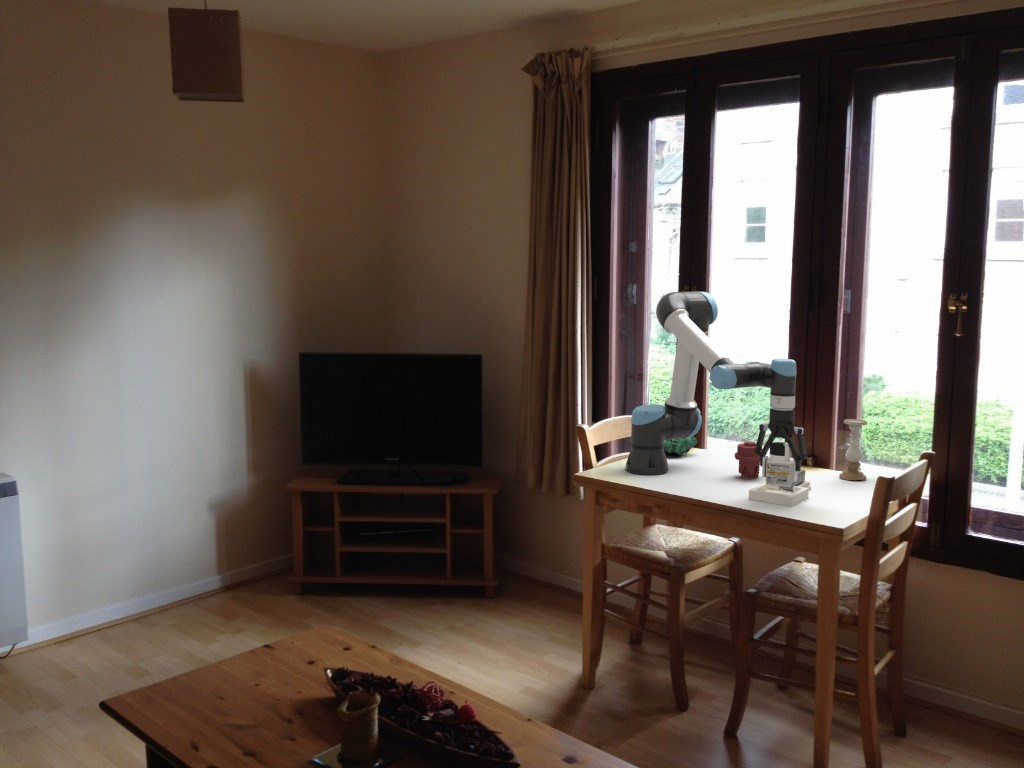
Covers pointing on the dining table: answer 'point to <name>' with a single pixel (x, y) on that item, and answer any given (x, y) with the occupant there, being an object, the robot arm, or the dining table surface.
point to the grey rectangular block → (799, 480)
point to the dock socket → (780, 494)
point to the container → (779, 465)
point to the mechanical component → (748, 460)
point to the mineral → (679, 445)
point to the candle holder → (853, 451)
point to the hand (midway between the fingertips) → (779, 478)
